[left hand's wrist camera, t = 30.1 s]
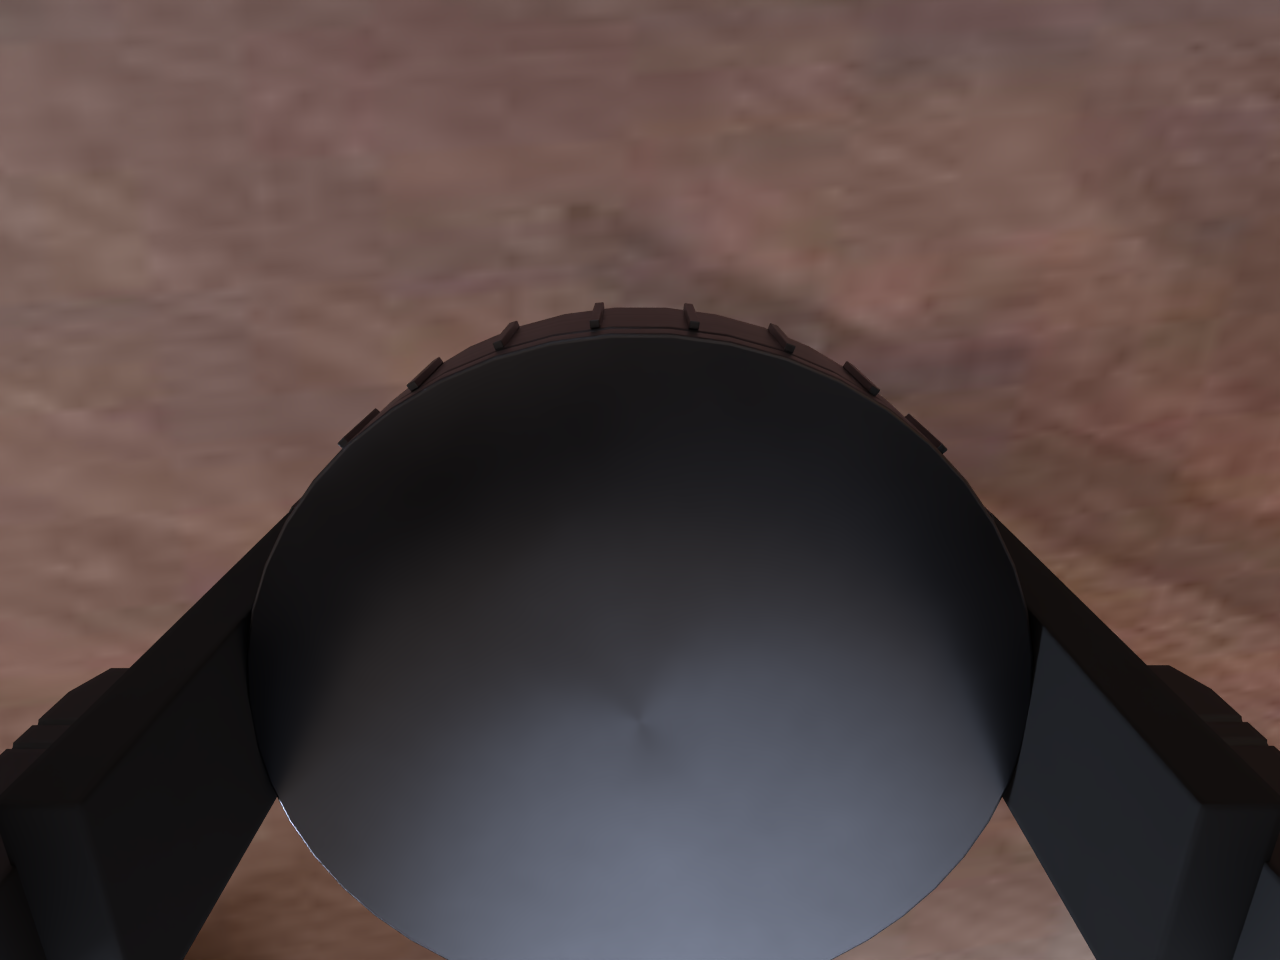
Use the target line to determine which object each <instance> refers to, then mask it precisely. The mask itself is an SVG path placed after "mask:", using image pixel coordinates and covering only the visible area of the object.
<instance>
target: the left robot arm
mask: <svg viewBox="0 0 1280 960" xmlns="http://www.w3.org/2000/svg"><path fill="white" fill-rule="evenodd" d="M991 514H992V513H991ZM289 515H290V514H289V513H288V514H287V515H285V516H284V517H283V518H282V519H281V520H280V521H279V522H278V523H277V524H276V525H275V526H274V527H273V528H272V529H271V530H270V531H269V532H268V533H267V534H266V535H265V536H264V537H263V538H262V539H261V540H260V541H259V542H258V543H257V544H256V545H255V546H254V547H253V548H252V549H251V550H250V551H249V552H248V553H247V554H246V555H245V556H244V557H243V558H242V559H241V560H240V561H238V562H237V563H236V564H235V565H234V566H233V567H232V568H231V569H230V570H229V571H228V572H227V573H226V574H225V575H224V576H223V577H222V578H221V579H220V580H219V581H218V582H217V583H216V584H215V585H214V586H213V587H212V588H211V589H210V590H209V591H208V592H207V593H206V594H205V595H204V596H203V597H202V598H201V599H200V600H199V601H198V602H197V603H196V604H195V605H194V606H193V607H192V608H190V609H189V610H188V611H187V612H186V613H185V614H184V615H183V616H182V617H181V618H180V619H179V620H178V621H177V622H176V623H175V624H174V625H173V626H172V627H171V628H170V629H169V630H168V631H167V632H166V633H165V634H164V635H163V636H162V637H161V638H160V639H159V640H158V641H157V642H156V643H155V644H154V645H153V646H152V647H151V648H150V649H149V650H148V651H147V652H146V653H145V654H143V655H142V656H141V657H140V658H139V659H138V660H137V661H136V662H135V663H134V664H133V665H132V666H131V667H130V668H111V669H109V670H107V671H105V672H103V673H102V674H100V675H98V676H96V677H95V678H93V679H91V680H89V681H87V682H86V683H84V684H82V685H80V686H79V687H77V688H75V689H73V690H71V691H70V692H68V693H67V694H66V695H65V696H64V697H63V698H62V699H61V700H60V701H58V702H57V703H56V704H55V705H54V706H53V707H52V708H51V709H50V710H49V711H48V712H46V713H45V714H44V715H43V716H42V717H41V718H40V719H39V723H38V725H32V726H31V727H30V728H29V729H28V730H27V731H26V732H25V733H24V734H22V735H21V736H20V737H19V738H18V739H17V740H16V741H15V742H14V743H13V748H12V749H6V750H5V751H4V752H3V753H2V754H1V755H0V960H183V959H184V957H185V955H186V954H187V952H188V950H189V949H190V947H191V945H192V943H193V942H194V940H195V938H196V936H197V935H198V933H199V931H200V929H201V928H202V926H203V924H204V923H205V921H206V919H207V917H208V916H209V914H210V912H211V910H212V909H213V907H214V905H215V903H216V902H217V900H218V898H219V897H220V895H221V893H222V891H223V890H224V888H225V886H226V884H227V883H228V881H229V879H230V878H231V876H232V874H233V872H234V871H235V869H236V867H237V865H238V864H239V862H240V860H241V858H242V857H243V855H244V853H245V852H246V850H247V848H248V846H249V845H250V843H251V841H252V839H253V838H254V836H255V834H256V832H257V831H258V829H259V827H260V826H261V824H262V822H263V820H264V819H265V817H266V815H267V813H268V812H269V810H270V808H271V806H272V805H273V803H274V801H275V800H276V798H277V795H276V793H275V791H274V790H273V788H272V786H271V784H270V781H269V778H268V775H267V773H266V770H265V767H264V764H263V761H262V758H261V755H260V752H259V750H258V745H257V741H256V735H255V730H254V725H253V720H252V714H251V709H250V704H249V698H248V685H247V647H248V639H249V631H250V623H251V614H252V608H253V605H254V601H255V598H256V594H257V591H258V587H259V584H260V580H261V577H262V574H263V570H264V567H265V564H266V562H267V560H268V557H269V555H270V553H271V551H272V549H273V547H274V545H275V543H276V540H277V538H278V536H279V534H280V532H281V530H282V528H283V526H284V523H285V521H286V520H287V518H288V517H289ZM992 516H993V518H994V522H995V524H996V526H997V528H998V531H999V533H1000V535H1001V537H1002V539H1003V541H1004V543H1005V546H1006V548H1007V550H1008V552H1009V554H1010V556H1011V558H1012V561H1013V563H1014V565H1015V568H1016V571H1017V575H1018V578H1019V582H1020V585H1021V589H1022V592H1023V596H1024V599H1025V603H1026V606H1027V610H1028V618H1029V626H1030V635H1031V643H1032V651H1033V670H1032V693H1031V699H1030V705H1029V710H1028V715H1027V721H1026V726H1025V731H1024V736H1023V742H1022V746H1021V751H1020V754H1019V756H1018V759H1017V762H1016V765H1015V768H1014V771H1013V774H1012V776H1011V779H1010V782H1009V784H1008V786H1007V788H1006V790H1005V792H1004V794H1003V796H1002V797H1003V799H1004V800H1005V802H1006V804H1007V806H1008V807H1009V809H1010V811H1011V813H1012V814H1013V816H1014V818H1015V820H1016V821H1017V823H1018V825H1019V826H1020V828H1021V830H1022V832H1023V833H1024V835H1025V837H1026V839H1027V840H1028V842H1029V844H1030V846H1031V847H1032V849H1033V851H1034V852H1035V854H1036V856H1037V858H1038V859H1039V861H1040V863H1041V865H1042V866H1043V868H1044V870H1045V872H1046V873H1047V875H1048V877H1049V878H1050V880H1051V882H1052V884H1053V885H1054V887H1055V889H1056V891H1057V892H1058V894H1059V896H1060V898H1061V899H1062V901H1063V903H1064V904H1065V906H1066V908H1067V910H1068V911H1069V913H1070V915H1071V917H1072V918H1073V920H1074V922H1075V924H1076V925H1077V927H1078V929H1079V930H1080V932H1081V934H1082V936H1083V937H1084V939H1085V941H1086V943H1087V944H1088V946H1089V948H1090V950H1091V951H1092V953H1093V955H1094V956H1095V958H1096V960H1280V751H1279V750H1278V749H1277V748H1276V747H1274V746H1268V744H1267V739H1266V738H1265V737H1263V736H1262V735H1261V734H1260V733H1259V732H1258V731H1257V730H1256V729H1255V728H1254V727H1252V726H1251V725H1250V724H1249V723H1248V722H1242V717H1241V716H1240V715H1239V714H1238V713H1237V712H1236V711H1235V710H1234V709H1233V708H1232V707H1231V706H1229V705H1228V704H1227V703H1226V702H1225V701H1224V700H1223V699H1222V698H1221V697H1220V696H1218V695H1217V694H1216V693H1215V692H1214V691H1213V690H1212V689H1210V688H1209V687H1207V686H1205V685H1203V684H1201V683H1200V682H1198V681H1196V680H1194V679H1193V678H1191V677H1189V676H1187V675H1185V674H1184V673H1182V672H1180V671H1178V670H1176V669H1175V668H1173V667H1171V666H1169V665H1146V664H1145V663H1144V662H1143V661H1142V660H1141V659H1140V658H1139V657H1138V656H1137V655H1136V654H1135V653H1134V652H1133V651H1132V650H1131V649H1130V648H1129V647H1128V646H1127V645H1126V644H1125V643H1124V642H1123V641H1122V640H1121V639H1120V638H1119V637H1118V636H1117V635H1115V634H1114V633H1113V632H1112V631H1111V630H1110V629H1109V628H1108V627H1107V626H1106V625H1105V624H1104V623H1103V622H1102V621H1101V620H1100V619H1099V618H1098V617H1097V616H1096V615H1095V614H1094V613H1093V612H1092V611H1091V610H1090V609H1089V608H1088V607H1087V606H1086V605H1085V604H1084V603H1083V602H1082V601H1081V600H1080V599H1079V598H1078V597H1077V596H1076V595H1075V594H1074V593H1073V592H1072V591H1071V590H1070V589H1068V588H1067V587H1066V586H1065V585H1064V584H1063V583H1062V582H1061V581H1060V580H1059V579H1058V578H1057V577H1056V576H1055V575H1054V574H1053V573H1052V572H1051V571H1050V570H1049V569H1048V568H1047V567H1046V566H1045V565H1044V564H1043V563H1042V562H1041V561H1040V560H1039V559H1038V558H1037V557H1036V556H1035V555H1034V554H1033V553H1032V552H1031V551H1030V550H1029V549H1028V548H1027V547H1026V546H1025V545H1024V544H1023V543H1022V542H1020V541H1019V540H1018V539H1017V538H1016V537H1015V536H1014V535H1013V534H1012V533H1011V532H1010V531H1009V530H1008V529H1007V528H1006V527H1005V526H1004V525H1003V524H1002V523H1001V522H1000V521H999V520H998V519H997V518H996V517H995V516H994V515H993V514H992Z"/></svg>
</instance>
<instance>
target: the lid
mask: <svg viewBox="0 0 1280 960" xmlns="http://www.w3.org/2000/svg"><path fill="white" fill-rule="evenodd" d="M407 387H408V389H406V390H405V391H404V392H403V393H401V394H400V395H399V396H398V397H396V398H395V399H394V400H393V401H392V402H390V403H389V404H388V405H387V406H386V407H385V408H384V409H383V410H382V411H381V412H379V411H378V410H377V409H376V408H375V409H374V410H373V411H372V412H371V413H370V414H369V415H367V416H366V417H365V418H364V419H363V420H362V421H361V422H360V423H359V424H358V425H356V426H355V427H354V428H353V429H352V430H351V431H350V432H349V433H348V434H347V435H345V436H344V437H343V438H342V439H341V440H340V441H339V442H338V445H339V446H340V447H342V450H341V451H340V452H339V453H338V454H337V455H336V456H335V457H334V458H333V459H332V460H331V461H330V463H329V464H328V465H327V466H326V467H325V468H324V469H323V470H322V471H321V472H320V473H319V474H318V476H317V477H316V478H315V479H314V480H313V481H312V483H311V484H310V486H309V487H308V489H307V490H306V492H305V493H304V495H303V496H302V497H301V498H300V499H299V500H298V501H297V502H296V503H295V504H294V505H293V506H292V507H291V509H290V511H289V514H290V515H289V517H288V518H287V520H286V521H285V523H284V526H283V528H282V530H281V532H280V534H279V536H278V538H277V540H276V543H275V545H274V547H273V549H272V551H271V553H270V555H269V557H268V560H267V562H266V564H265V567H264V570H263V574H262V577H261V580H260V584H259V587H258V591H257V594H256V598H255V601H254V605H253V608H252V614H251V623H250V631H249V639H248V647H247V685H248V698H249V704H250V709H251V714H252V720H253V725H254V730H255V735H256V741H257V745H258V750H259V752H260V755H261V758H262V761H263V764H264V767H265V770H266V773H267V775H268V778H269V781H270V784H271V786H272V788H273V790H274V791H275V793H276V795H277V797H278V799H279V801H280V803H281V805H282V807H283V809H284V811H285V813H286V815H287V817H288V819H289V821H290V822H291V824H292V825H293V826H294V828H295V829H296V831H297V832H298V834H299V835H300V836H301V838H302V839H303V841H304V842H305V844H306V845H307V846H308V848H309V849H310V851H311V852H312V854H313V855H314V856H315V857H316V859H317V860H318V861H319V862H320V863H321V864H322V865H323V866H324V867H325V868H326V870H327V871H328V872H329V873H330V874H331V875H332V876H333V877H334V878H335V879H336V881H337V882H338V883H339V884H340V885H341V886H342V887H343V888H344V889H345V890H346V891H347V892H348V893H350V894H351V895H352V896H353V897H354V898H355V899H357V900H358V901H359V902H360V903H361V904H362V905H363V906H365V907H366V908H367V909H368V910H369V911H370V912H372V913H373V914H374V915H375V916H376V917H378V918H379V919H381V920H382V921H384V922H385V923H387V924H388V925H390V926H391V927H392V928H394V929H395V930H397V931H398V932H400V933H401V934H403V935H404V936H406V937H407V938H409V939H410V940H412V941H413V942H415V943H417V944H419V945H421V946H423V947H425V948H427V949H428V950H430V951H432V952H434V953H436V954H438V955H440V956H441V957H443V958H445V959H447V960H832V959H834V958H836V957H838V956H840V955H841V954H843V953H845V952H847V951H849V950H851V949H853V948H855V947H856V946H858V945H860V944H862V943H864V942H866V941H868V940H869V939H871V938H872V937H874V936H875V935H876V934H878V933H879V932H881V931H882V930H884V929H885V928H887V927H888V926H890V925H891V924H893V923H894V922H896V921H897V920H898V919H900V918H901V917H903V916H904V915H905V914H906V913H908V912H909V911H910V910H911V909H912V908H913V907H915V906H916V905H917V904H918V903H919V902H920V901H922V900H923V899H924V898H925V897H926V896H927V895H928V894H930V893H931V892H932V891H933V890H934V889H935V888H936V887H937V886H938V885H939V884H940V883H941V882H942V881H943V880H944V879H945V878H946V876H947V875H948V874H949V873H950V872H951V871H952V870H953V869H954V868H955V867H956V865H957V864H958V863H959V862H960V861H961V860H962V859H963V858H964V857H965V855H966V854H967V853H968V851H969V850H970V848H971V847H972V845H973V844H974V843H975V841H976V840H977V838H978V837H979V835H980V834H981V833H982V831H983V830H984V828H985V827H986V825H987V824H988V823H989V821H990V819H991V817H992V815H993V813H994V811H995V810H996V808H997V806H998V804H999V802H1000V800H1001V798H1002V796H1003V794H1004V792H1005V790H1006V788H1007V786H1008V784H1009V782H1010V779H1011V776H1012V774H1013V771H1014V768H1015V765H1016V762H1017V759H1018V756H1019V754H1020V751H1021V746H1022V742H1023V736H1024V731H1025V726H1026V721H1027V715H1028V710H1029V705H1030V699H1031V693H1032V670H1033V651H1032V643H1031V635H1030V626H1029V618H1028V610H1027V606H1026V603H1025V599H1024V596H1023V592H1022V589H1021V585H1020V582H1019V578H1018V575H1017V571H1016V568H1015V565H1014V563H1013V561H1012V558H1011V556H1010V554H1009V552H1008V550H1007V548H1006V546H1005V543H1004V541H1003V539H1002V537H1001V535H1000V533H999V531H998V528H997V526H996V524H995V522H994V518H993V516H992V514H991V512H989V511H988V510H987V509H986V508H985V507H984V506H983V504H982V503H981V501H980V500H979V498H978V497H977V495H976V494H975V492H974V491H973V489H972V488H971V486H970V485H969V483H968V482H967V480H966V479H965V478H964V477H963V476H962V475H961V474H960V473H959V472H958V471H957V469H956V468H955V467H954V466H953V465H952V464H951V463H950V462H949V461H948V460H947V459H946V457H945V456H944V455H943V453H944V452H946V451H947V448H946V447H945V446H944V445H943V444H942V443H941V442H940V441H939V440H938V439H937V438H935V437H934V436H933V435H932V434H931V433H930V432H929V431H928V430H927V429H925V428H924V427H923V426H922V425H921V424H920V423H919V422H918V421H917V420H916V419H914V418H913V417H912V416H911V415H910V414H908V415H907V416H905V417H904V416H903V415H902V414H901V413H900V412H899V411H898V410H897V409H895V408H894V407H893V406H892V405H891V404H890V403H889V402H888V401H887V400H886V399H884V398H883V397H882V396H881V395H879V394H878V393H879V391H880V389H878V388H877V387H876V386H875V385H874V384H873V383H872V382H871V381H870V380H869V379H868V378H866V377H865V376H864V375H863V374H862V373H861V372H860V371H859V370H858V369H857V368H856V367H855V366H853V365H852V364H851V363H849V362H848V361H847V362H846V363H845V364H844V365H843V366H841V365H839V364H838V363H836V362H834V361H832V360H831V359H829V358H827V357H826V356H824V355H822V354H821V353H819V352H817V351H816V350H814V349H812V348H811V347H809V346H806V345H804V344H802V343H799V342H797V341H795V340H792V339H790V338H788V337H787V336H786V335H785V334H784V332H783V331H782V330H781V329H780V328H779V327H778V326H777V325H774V324H771V323H770V325H769V328H768V329H766V328H764V327H760V326H756V325H753V324H749V323H745V322H742V321H738V320H734V319H731V318H727V317H723V316H720V315H716V314H708V313H701V312H695V309H694V307H693V304H687V303H685V304H684V309H683V310H679V309H671V308H609V309H604V303H603V302H602V303H595V306H594V309H593V311H586V312H578V313H571V314H564V315H560V316H556V317H553V318H549V319H545V320H542V321H538V322H534V323H531V324H527V325H523V326H519V324H518V322H517V321H514V322H511V323H509V324H508V326H507V327H506V328H505V329H504V330H503V332H502V333H501V334H499V335H497V336H494V337H492V338H490V339H487V340H485V341H483V342H480V343H478V344H475V345H473V346H471V347H469V348H467V349H466V350H464V351H462V352H461V353H459V354H457V355H455V356H454V357H452V358H450V359H449V360H447V361H445V362H444V363H443V361H442V360H441V358H440V357H438V358H437V359H435V360H433V361H432V362H431V363H430V364H429V365H428V366H427V367H426V368H425V369H424V370H423V371H421V372H420V373H419V374H418V375H417V376H416V377H415V378H414V379H413V380H412V381H411V382H410V383H409V384H408V385H407Z"/></svg>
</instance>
